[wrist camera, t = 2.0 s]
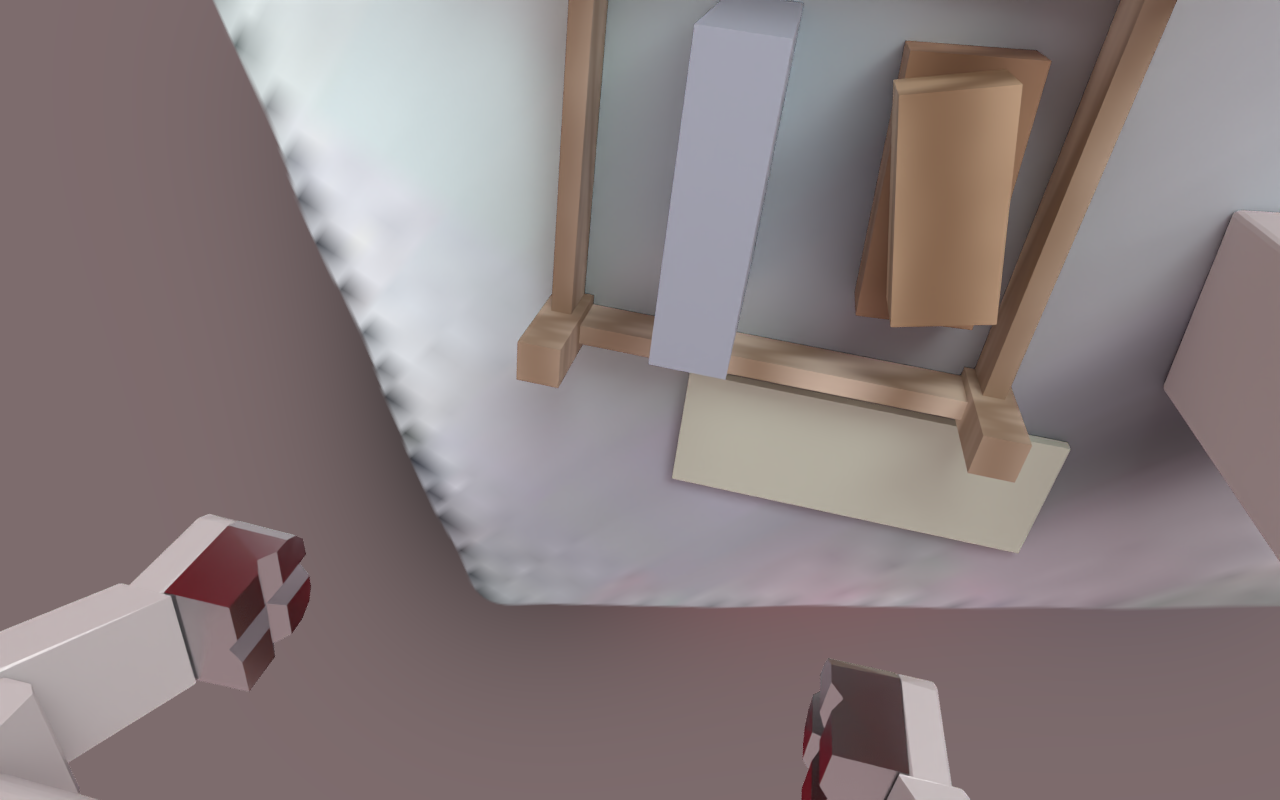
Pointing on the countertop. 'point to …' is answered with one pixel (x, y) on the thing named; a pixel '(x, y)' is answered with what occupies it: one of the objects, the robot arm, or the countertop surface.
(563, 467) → the countertop surface
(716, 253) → the lavender grey box
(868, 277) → the offcut lower
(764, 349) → the rack
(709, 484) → the mat
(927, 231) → the offcut upper
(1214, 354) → the soap bottle
